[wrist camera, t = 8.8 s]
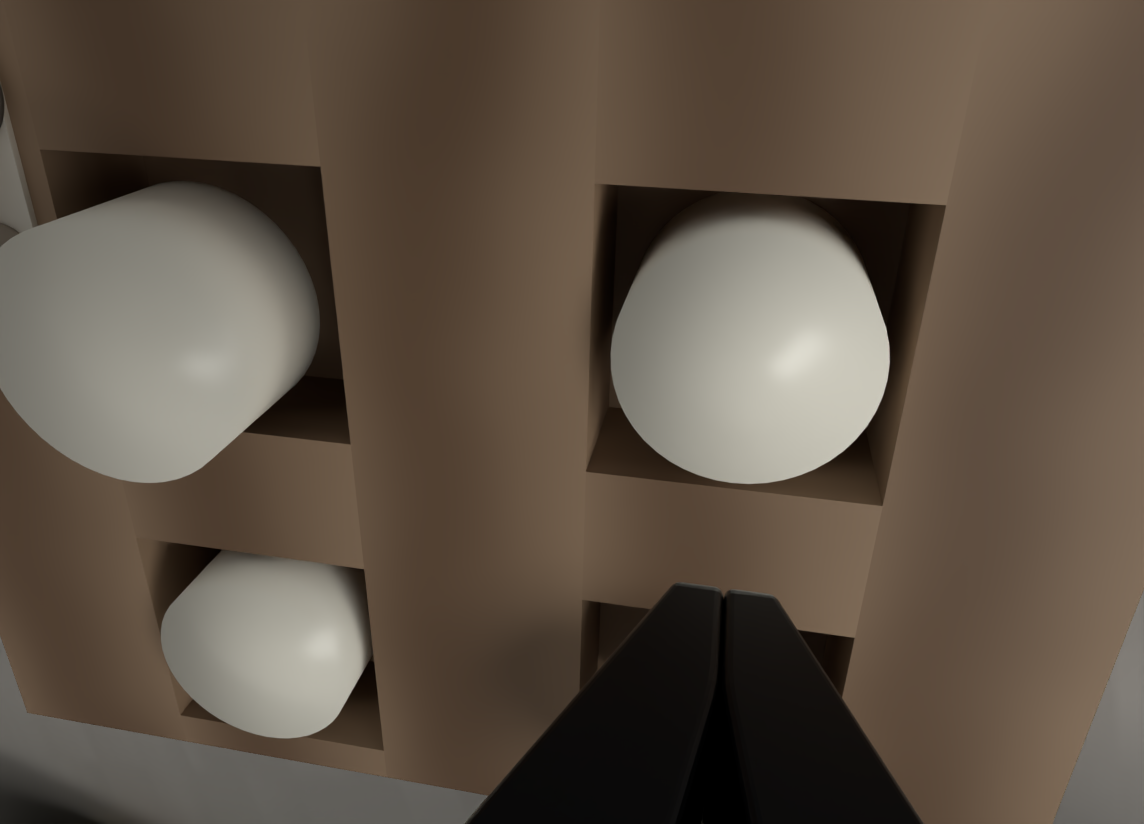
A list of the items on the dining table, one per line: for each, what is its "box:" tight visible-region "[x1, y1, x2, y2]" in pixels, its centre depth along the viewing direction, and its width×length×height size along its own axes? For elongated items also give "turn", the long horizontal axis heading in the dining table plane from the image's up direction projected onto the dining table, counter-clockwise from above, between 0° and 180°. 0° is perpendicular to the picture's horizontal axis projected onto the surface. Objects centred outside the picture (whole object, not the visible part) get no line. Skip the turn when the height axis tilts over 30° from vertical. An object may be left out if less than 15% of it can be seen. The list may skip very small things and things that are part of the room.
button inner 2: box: [161, 549, 373, 738], centre depth 19 cm, size 4×4×3 cm
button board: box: [0, 0, 1144, 824], centre depth 16 cm, size 22×16×3 cm
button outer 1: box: [610, 192, 890, 484], centre depth 14 cm, size 4×4×3 cm
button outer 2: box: [0, 181, 320, 483], centre depth 14 cm, size 4×4×3 cm
